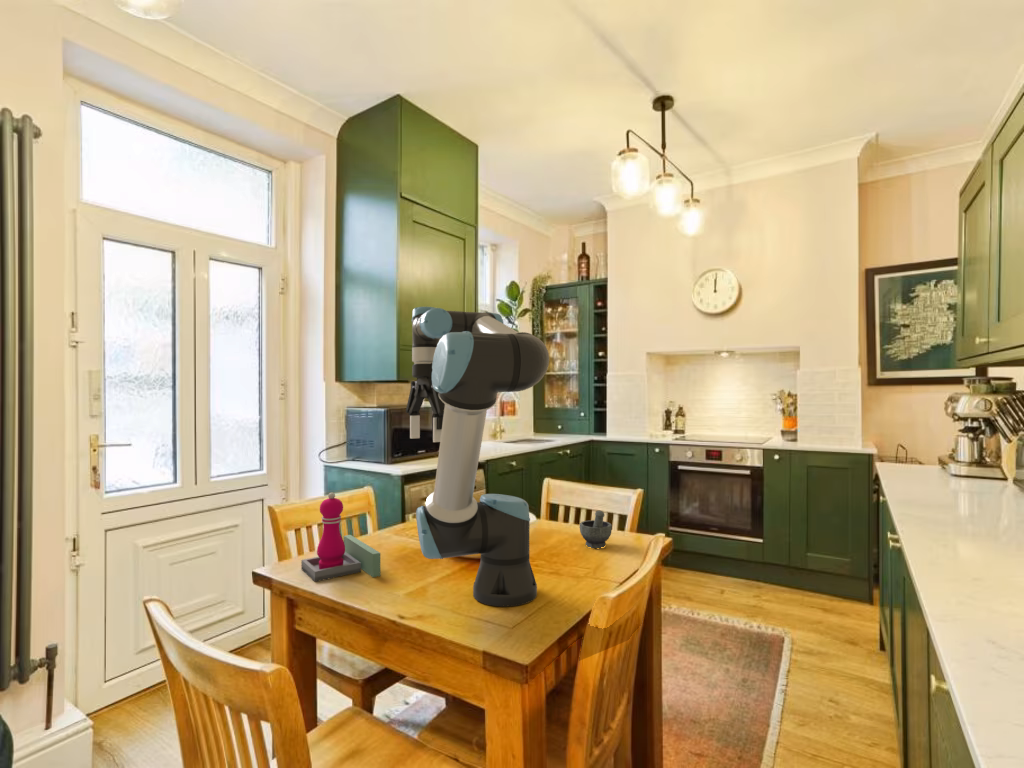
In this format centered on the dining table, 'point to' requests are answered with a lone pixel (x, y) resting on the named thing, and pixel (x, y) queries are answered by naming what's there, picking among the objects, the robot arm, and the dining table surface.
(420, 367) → the robot arm
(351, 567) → the tray
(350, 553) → the board
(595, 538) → the mortar and pestle
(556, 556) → the dining table surface
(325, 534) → the pepper mill
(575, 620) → the dining table surface
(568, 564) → the dining table surface
